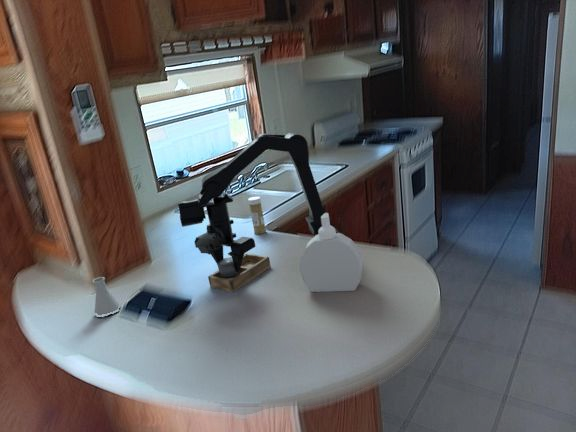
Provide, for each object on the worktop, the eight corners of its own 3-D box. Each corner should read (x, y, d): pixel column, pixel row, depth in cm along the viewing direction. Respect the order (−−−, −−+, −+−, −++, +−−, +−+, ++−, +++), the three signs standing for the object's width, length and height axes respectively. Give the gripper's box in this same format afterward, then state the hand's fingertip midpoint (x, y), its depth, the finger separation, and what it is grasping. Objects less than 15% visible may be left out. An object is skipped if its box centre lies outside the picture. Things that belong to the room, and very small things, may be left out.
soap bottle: (365, 281, 125) (357, 210, 119) (363, 291, 120) (356, 217, 114) (306, 283, 129) (296, 215, 123) (302, 292, 124) (292, 221, 118)
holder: (270, 266, 144) (268, 256, 143) (233, 292, 131) (231, 281, 130) (248, 263, 149) (246, 253, 148) (210, 287, 136) (208, 276, 135)
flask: (95, 321, 126) (85, 288, 123) (93, 311, 132) (83, 279, 129) (123, 312, 129) (113, 279, 126) (119, 302, 135) (110, 271, 132)
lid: (244, 271, 136) (242, 258, 135) (230, 280, 132) (228, 266, 131) (229, 268, 140) (227, 255, 139) (215, 277, 135) (212, 264, 134)
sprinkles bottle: (268, 231, 175) (262, 197, 171) (257, 235, 172) (251, 200, 168) (262, 229, 178) (256, 195, 174) (251, 232, 176) (245, 198, 172)
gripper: (175, 226, 130) (187, 277, 135) (223, 232, 119) (235, 287, 124) (203, 213, 139) (214, 261, 143) (251, 217, 128) (261, 270, 132)
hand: (229, 270), depth 136 cm, fingers closed on lid, 6 cm apart
